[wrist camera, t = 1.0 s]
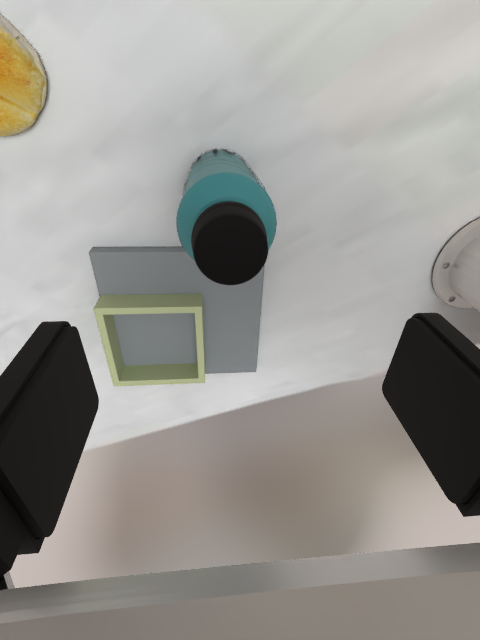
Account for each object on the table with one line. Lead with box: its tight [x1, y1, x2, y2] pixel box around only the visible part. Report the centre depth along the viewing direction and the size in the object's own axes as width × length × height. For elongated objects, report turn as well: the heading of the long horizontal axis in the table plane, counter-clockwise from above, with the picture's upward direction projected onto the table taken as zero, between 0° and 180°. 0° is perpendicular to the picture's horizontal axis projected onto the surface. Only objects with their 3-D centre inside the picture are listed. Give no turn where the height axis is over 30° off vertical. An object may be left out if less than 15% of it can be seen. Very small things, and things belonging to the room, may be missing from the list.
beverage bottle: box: [177, 148, 276, 285], centre depth 24 cm, size 6×7×20 cm
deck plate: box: [89, 247, 264, 386], centre depth 39 cm, size 19×18×4 cm
